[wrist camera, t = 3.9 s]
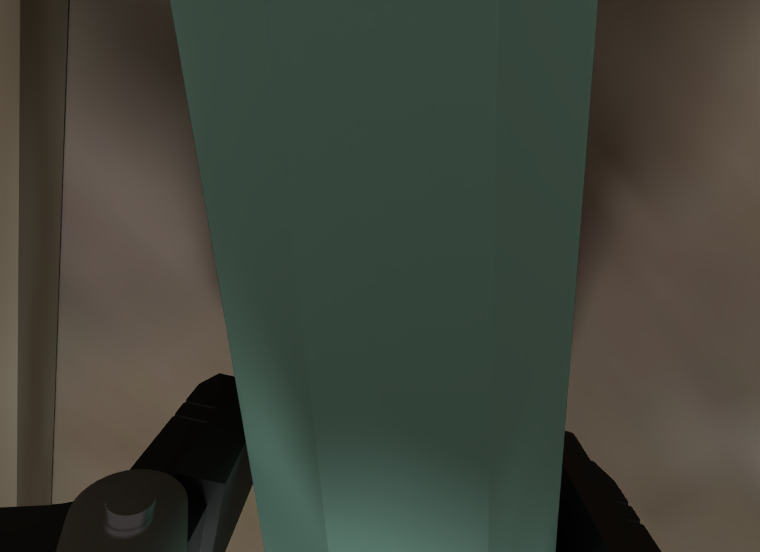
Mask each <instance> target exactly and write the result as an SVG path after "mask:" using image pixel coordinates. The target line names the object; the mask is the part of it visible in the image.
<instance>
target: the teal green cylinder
mask: <svg viewBox="0 0 760 552" xmlns="http://www.w3.org/2000/svg"><path fill="white" fill-rule="evenodd" d="M170 3H171V8H172V14H173V20H174V26H175V32H176V37H177V43H178V49H179V55H180V61H181V67H182V72H183V78H184V84H185V90H186V96H187V102H188V107H189V113H190V119H191V125H192V131H193V136H194V142H195V148H196V154H197V160H198V166H199V171H200V177H201V183H202V189H203V195H204V201H205V206H206V212H207V218H208V224H209V230H210V235H211V241H212V247H213V253H214V259H215V265H216V270H217V276H218V282H219V288H220V294H221V299H222V305H223V311H224V317H225V323H226V329H227V334H228V340H229V346H230V352H231V358H232V364H233V369H234V375H235V381H236V387H237V393H238V398H239V404H240V410H241V416H242V422H243V428H244V433H245V439H246V445H247V451H248V457H249V463H250V468H251V474H252V480H253V486H254V492H255V497H256V503H257V509H258V515H259V521H260V527H261V532H262V538H263V544H264V550H265V552H555V550H556V538H557V525H558V512H559V499H560V486H561V473H562V460H563V447H564V434H565V421H566V408H567V395H568V382H569V370H570V357H571V344H572V331H573V318H574V305H575V292H576V279H577V266H578V253H579V240H580V227H581V214H582V202H583V189H584V176H585V163H586V150H587V137H588V124H589V111H590V98H591V85H592V72H593V59H594V47H595V34H596V21H597V8H598V0H170Z"/></svg>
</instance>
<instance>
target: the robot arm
mask: <svg viewBox="0 0 760 552" xmlns="http://www.w3.org/2000/svg"><path fill="white" fill-rule="evenodd" d="M252 485H253V480H252V474H251V468H250V463H249V457H248V451H247V445H246V439H245V433H244V428H243V422H242V416H241V410H240V404H239V398H238V393H237V387H236V381H235V377H233V376H229V375H225V374H221V373H219V374H217V375H215V376H213V377H211V378H209V379H207V380H206V381H204V382H202V383H200V384H199V385H198V386H197V387H196V388H195V390H194V391H193V392H192V393H191V394H190V396H189V397H188V398H187V399H186V402H185V403H183V404H182V406H181V407H180V408H179V409H178V411H177V412H176V414H175V416H173V417H172V418H171V419H170V420H169V422H168V423H167V424H166V425H165V427H164V428H163V429H162V430H161V432H160V433H159V434H158V435H157V437H156V438H155V439H154V440H153V442H152V443H151V444H150V445H149V446H148V448H147V449H146V450H145V451H144V453H143V454H142V455H141V456H140V458H139V459H138V460H137V461H136V463H135V464H134V465H133V466H132V468H131V469H130V470H126V471H122V472H117V473H114V474H112V475H109V476H106V477H104V478H102V479H100V480H98V481H96V482H95V483H93V484H91V485H90V486H88V487H87V488H86V489H85V490H83V491H82V492H81V493H80V494H79V495H78V496H77V497H76V498H75V500H74V501H73V502H68V503H63V504H53V505H37V506H17V507H0V552H225V551H226V548H227V546H228V543H229V541H230V539H231V536H232V534H233V531H234V529H235V526H236V524H237V522H238V519H239V517H240V514H241V512H242V509H243V507H244V504H245V502H246V500H247V497H248V495H249V492H250V490H251V487H252ZM555 552H661V551H660V549H659V548H658V546H657V545H656V543H655V542H654V540H653V539H652V537H651V536H650V534H649V532H648V531H647V529H646V528H645V526H644V525H642V524H640V519H639V517H638V516H637V514H636V513H635V511H634V510H633V508H632V507H631V506H628V501H627V499H626V498H625V496H624V495H623V493H622V492H621V490H620V489H619V487H618V486H617V484H616V483H615V481H614V480H613V479H612V478H611V477H610V476H608V475H607V474H606V473H605V472H604V471H603V470H602V469H601V468H600V467H599V466H598V465H597V464H596V463H595V462H594V461H591V460H590V459H589V457H588V456H587V454H586V452H585V451H584V449H583V448H582V446H581V444H580V443H579V441H578V440H577V438H576V437H575V435H574V434H573V433H571V432H568V431H565V434H564V447H563V460H562V473H561V486H560V499H559V512H558V525H557V538H556V550H555Z"/></svg>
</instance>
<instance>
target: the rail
mask: <svg viewBox="0 0 760 552" xmlns="http://www.w3.org/2000/svg"><path fill="white" fill-rule="evenodd" d="M67 28H68V0H0V507H17V506H37V505H51V491H52V462H53V433H54V404H55V376H56V347H57V318H58V289H59V260H60V231H61V202H62V173H63V144H64V115H65V86H66V57H67Z"/></svg>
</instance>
